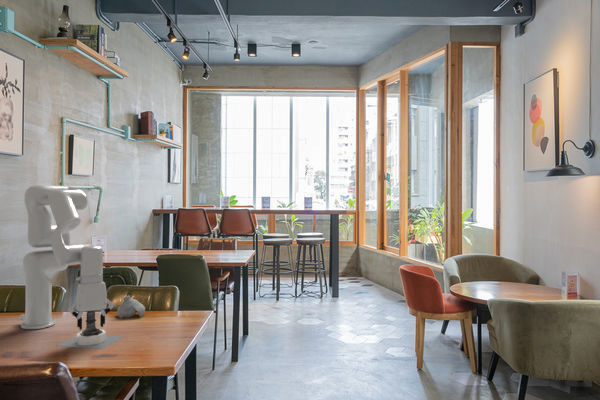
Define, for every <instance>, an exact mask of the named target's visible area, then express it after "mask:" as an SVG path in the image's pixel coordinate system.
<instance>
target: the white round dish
mask: <svg viewBox="0 0 600 400" xmlns="http://www.w3.org/2000/svg"><path fill="white" fill-rule="evenodd" d="M99 329H100V328H99ZM106 333H107V332H106V331H105V329H100V330H99V333H98V335H94V336H84V335H83V333H82V331H79V332H78V333H76V336H77V343H78V345H94V344H100V343H101V342H103V341H105V340H106V336H107V334H106Z"/></svg>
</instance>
